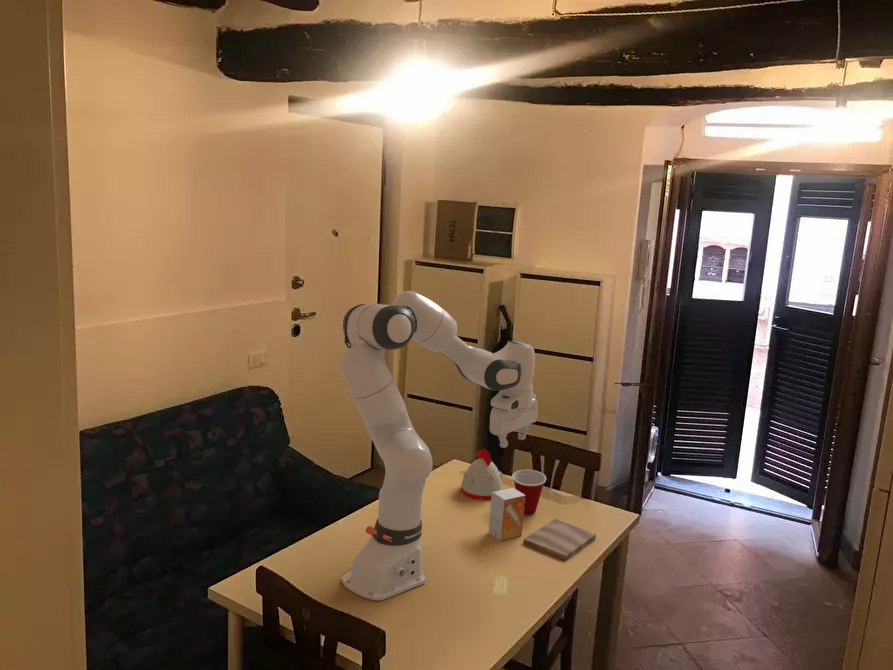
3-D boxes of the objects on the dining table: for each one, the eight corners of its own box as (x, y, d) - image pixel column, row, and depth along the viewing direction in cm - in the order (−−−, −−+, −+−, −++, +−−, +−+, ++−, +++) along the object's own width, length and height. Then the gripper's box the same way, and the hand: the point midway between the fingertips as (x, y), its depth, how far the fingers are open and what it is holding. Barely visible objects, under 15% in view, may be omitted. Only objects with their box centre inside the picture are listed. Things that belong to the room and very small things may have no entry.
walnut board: (565, 560, 204) (566, 555, 204) (523, 543, 212) (523, 538, 212) (595, 538, 218) (596, 534, 218) (554, 523, 226) (555, 518, 226)
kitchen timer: (474, 503, 237) (477, 459, 234) (453, 486, 249) (456, 445, 246) (510, 496, 244) (513, 454, 241) (488, 481, 256) (491, 440, 253)
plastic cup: (503, 512, 231) (506, 477, 229) (517, 501, 241) (520, 466, 238) (535, 522, 226) (539, 485, 224) (548, 509, 236) (551, 474, 233)
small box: (500, 541, 212) (504, 500, 210) (487, 532, 218) (491, 491, 215) (522, 535, 217) (526, 494, 214) (509, 527, 222) (512, 486, 219)
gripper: (526, 388, 219) (522, 432, 221) (487, 401, 203) (483, 448, 206) (544, 392, 215) (540, 437, 218) (506, 406, 199) (502, 454, 202)
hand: (512, 443), depth 211 cm, fingers open, 8 cm apart
